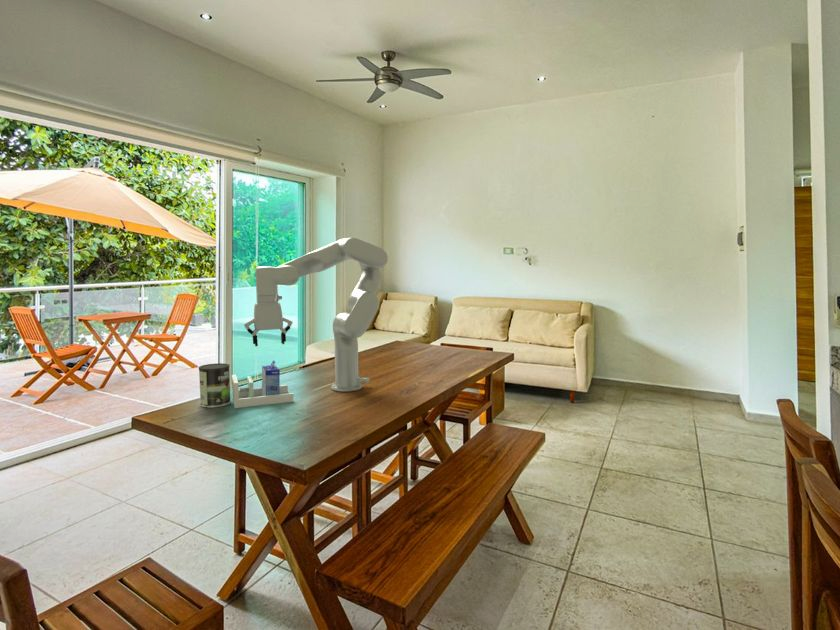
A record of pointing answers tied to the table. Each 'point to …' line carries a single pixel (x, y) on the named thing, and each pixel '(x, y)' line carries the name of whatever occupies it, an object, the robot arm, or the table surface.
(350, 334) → the robot arm
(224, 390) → the coffee can
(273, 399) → the lane
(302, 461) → the table surface
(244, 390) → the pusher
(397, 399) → the table surface
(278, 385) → the ink cartridge box
